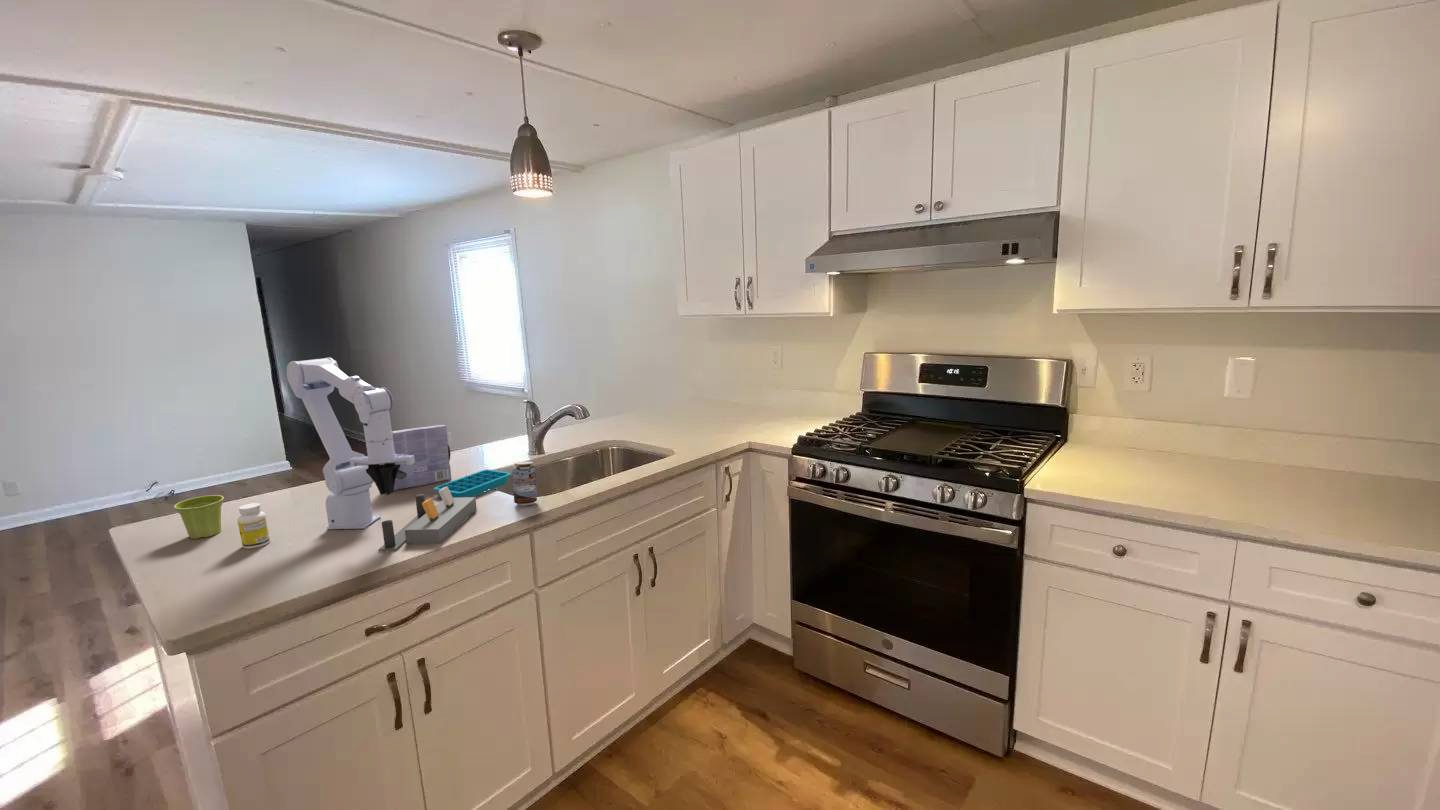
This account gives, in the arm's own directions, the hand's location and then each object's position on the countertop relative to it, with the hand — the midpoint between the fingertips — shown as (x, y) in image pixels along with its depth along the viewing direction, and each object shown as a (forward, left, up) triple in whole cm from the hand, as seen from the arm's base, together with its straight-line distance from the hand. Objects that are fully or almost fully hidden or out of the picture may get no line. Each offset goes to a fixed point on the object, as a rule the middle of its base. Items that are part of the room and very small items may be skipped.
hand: (387, 493), depth 146 cm
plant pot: (-48, +2, -11) cm, 49 cm away
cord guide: (+4, 0, -11) cm, 11 cm away
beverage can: (+27, +19, -11) cm, 35 cm away
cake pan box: (-12, +39, -11) cm, 42 cm away
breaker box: (+11, +5, -10) cm, 16 cm away
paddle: (+11, +9, -6) cm, 15 cm away
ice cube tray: (+7, +33, -11) cm, 36 cm away
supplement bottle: (-30, -5, -11) cm, 32 cm away
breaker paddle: (+11, 0, -6) cm, 12 cm away
